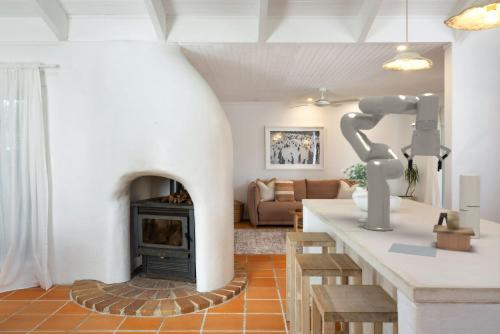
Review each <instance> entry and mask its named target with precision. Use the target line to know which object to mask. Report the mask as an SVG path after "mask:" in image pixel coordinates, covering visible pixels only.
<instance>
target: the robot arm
mask: <svg viewBox="0 0 500 334" xmlns="http://www.w3.org/2000/svg"><path fill="white" fill-rule="evenodd" d="M439 99H440V97H439V95H438V94H437V93H435V92H434V93H431V92H430V93H429V92H428V93H421V94H419V95H410V94H409V95H408V94H407V95H406V94H386V95H368V96H363V97H362V98H361V99H360V100H359V102H358V109H359V110H360V111H359V112H354V111H351V112H346V113H345V114H343V115H342V116H341V118H340V121H339V127H340V132H341V135H342V136H343V137H344V139H345V140H346V141H347V142H348V143H349V145H350V146H351V148H352V149H353V151H354V152H355V154H356V155H357V156H358V158H359V159H360V160H361V161H362V162H363V163H366V165H365V167H364V168H365V170H364V171H365V176H366V181H367V183H366V185H367V217H365V218H361V217H359V218H358V219H357V223H361V224H364V225H363V228H364V229H365V230H369V231H377V232H380V231H381V232H386V231H387V232H388V231H393V230H394V226H392V224H390V221H391V218H390V217H391V189H390V186H389V183H388V181H389V180H391V181H392V180H399V179H400V178H402V176H404V172H405V168H404V164H403V162H402V161H401V159H400V158H399V157H398V155H397V154H396V153H395V152H394V150H393V149H392V148H391V147H390V146H389V145H388V144H385V143H379V142H378V143H377V142H376V143H375V142H372V141H371V140H370V139H369V138H368V136H367V134H365V132H362V131H369V130H372V129H374V128H375V127H376V126H377V125H378V124H379V122H380V121H382V119H383V118H384V117H385V116H387V115H390V114H393V115H394V114H395V115H409V116H415V123H411V128H415V129H413V130H412V134H411V141H410V144H409V145H407V146H406V145H405V146H404V147H402V148H401V149H400V151H401V153H402V155H403V156H404V157H405V158H406V160H407V161H408V162H407V169H409V171H412V170H413V161H414V160H413V158H414V157H415V156H421V157H422V156H423V157H424V156H425V157H427V156H429V157H430V156H431V157H434V156H435V157H436V158H437V159H438V160H437V168H436V169H437V170H436V171H437V172H440V171H441V170H443V161H444V160H445V159H446V158H448V156H449V155H450V154H451V152H452V149H451V148H448V147H447V146H444V145H442V144H441V131H440V130H441V129H438V128H439V127H438V124H439V104H440V100H439ZM409 149H410V155H409V154H408V153H407V150H409ZM441 150H443V151H445V153H444V154H443V155H441ZM361 161H360V162H361ZM387 180H388V181H387Z"/></svg>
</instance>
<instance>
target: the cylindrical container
mask: <svg viewBox="0 0 500 334" xmlns="http://www.w3.org/2000/svg"><path fill="white" fill-rule="evenodd" d="M458 184H459V188H458V189H459V191H458V192H459V194H458V195H459V197H458V199H459V201H458V202H459V203H458V206H459V208H458V212H459V227H469V228H473V231H474V233H475V236H470V239H480V238H481V235H480V234H481V175H480V174H459V183H458Z"/></svg>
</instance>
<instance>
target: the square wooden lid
mask: <svg viewBox="0 0 500 334" xmlns="http://www.w3.org/2000/svg"><path fill="white" fill-rule="evenodd" d="M446 213H447V225H443V224H442V225H437V224H434V225H433V229H432V230H433V231H432V233H434V234H437V233H445V234H456V235H468V236H475V233H474V231H473V228H469V227H459V211H454V210H447V212H446Z"/></svg>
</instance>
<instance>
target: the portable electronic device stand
mask: <svg viewBox="0 0 500 334" xmlns="http://www.w3.org/2000/svg"><path fill="white" fill-rule="evenodd" d="M444 219H445V226H447V212H440V213H439V217H438V221H437V224H436V225H443V224H444Z"/></svg>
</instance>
